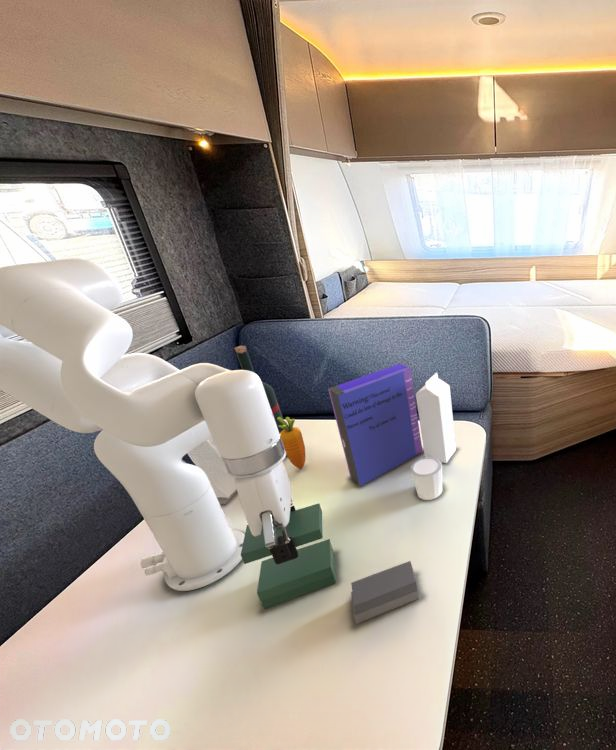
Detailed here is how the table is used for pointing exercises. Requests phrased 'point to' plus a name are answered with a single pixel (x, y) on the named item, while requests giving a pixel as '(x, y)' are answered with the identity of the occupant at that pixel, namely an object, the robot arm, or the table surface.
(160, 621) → the table surface
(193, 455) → the skyscraper
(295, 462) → the carrot
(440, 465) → the white cylinder
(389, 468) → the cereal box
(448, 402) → the milk
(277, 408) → the wine bottle
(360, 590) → the grey books
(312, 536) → the green flat block
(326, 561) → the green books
